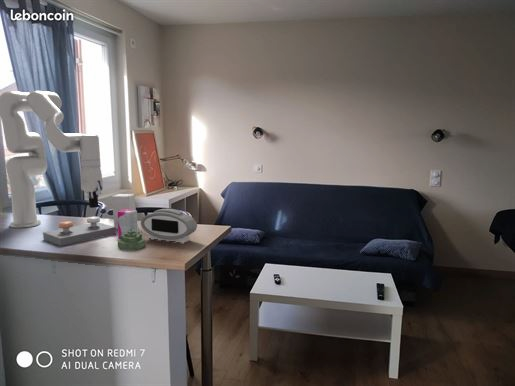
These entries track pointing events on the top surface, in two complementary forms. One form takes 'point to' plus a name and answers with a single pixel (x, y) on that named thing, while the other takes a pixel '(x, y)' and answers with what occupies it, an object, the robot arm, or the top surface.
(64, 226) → the terracotta button
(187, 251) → the top surface
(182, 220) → the alarm clock
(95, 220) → the grey button
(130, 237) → the decorative artifact
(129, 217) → the supplement box
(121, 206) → the skincare box
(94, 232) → the button panel
